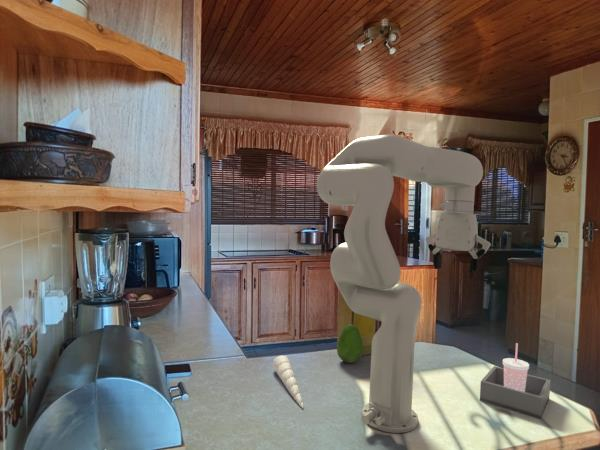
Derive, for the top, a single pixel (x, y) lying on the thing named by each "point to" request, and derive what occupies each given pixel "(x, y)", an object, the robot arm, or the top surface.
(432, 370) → the top surface
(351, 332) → the avocado
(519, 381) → the beverage cup
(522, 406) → the bin
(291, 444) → the top surface
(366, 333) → the food packaging
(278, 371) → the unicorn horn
